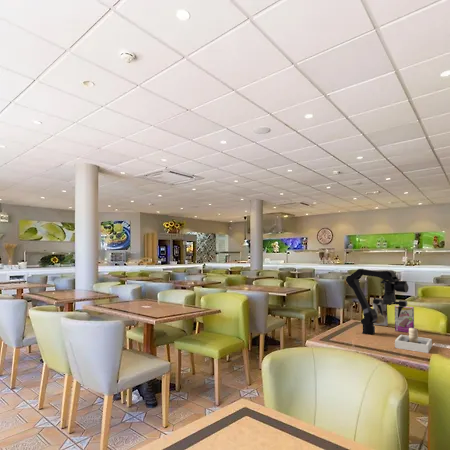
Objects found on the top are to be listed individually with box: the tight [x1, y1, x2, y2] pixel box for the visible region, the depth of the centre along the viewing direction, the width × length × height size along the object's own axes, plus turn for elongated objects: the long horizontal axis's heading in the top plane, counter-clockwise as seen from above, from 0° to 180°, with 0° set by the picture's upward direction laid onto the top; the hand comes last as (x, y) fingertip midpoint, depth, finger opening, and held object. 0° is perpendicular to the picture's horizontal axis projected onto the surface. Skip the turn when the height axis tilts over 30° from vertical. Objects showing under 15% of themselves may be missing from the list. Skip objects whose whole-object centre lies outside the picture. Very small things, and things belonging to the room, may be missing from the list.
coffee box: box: [372, 303, 389, 327], centre depth 252 cm, size 9×6×16 cm
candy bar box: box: [394, 304, 415, 334], centre depth 230 cm, size 11×5×16 cm, turn 58°
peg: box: [408, 327, 419, 343], centre depth 196 cm, size 4×4×10 cm
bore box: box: [394, 334, 433, 354], centre depth 195 cm, size 16×16×4 cm
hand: (390, 316), depth 216 cm, fingers open, 9 cm apart
